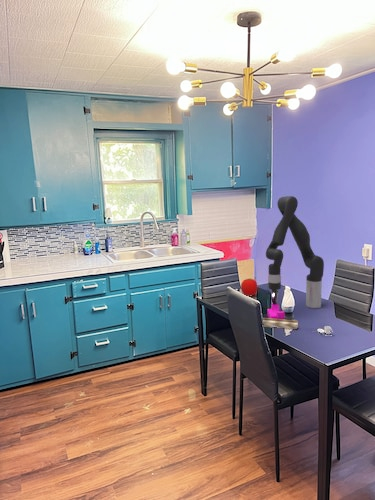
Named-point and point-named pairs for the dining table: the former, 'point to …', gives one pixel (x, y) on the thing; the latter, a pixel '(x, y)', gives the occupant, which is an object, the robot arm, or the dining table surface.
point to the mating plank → (280, 323)
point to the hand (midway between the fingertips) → (274, 307)
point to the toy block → (275, 312)
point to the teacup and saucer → (325, 330)
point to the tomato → (249, 287)
